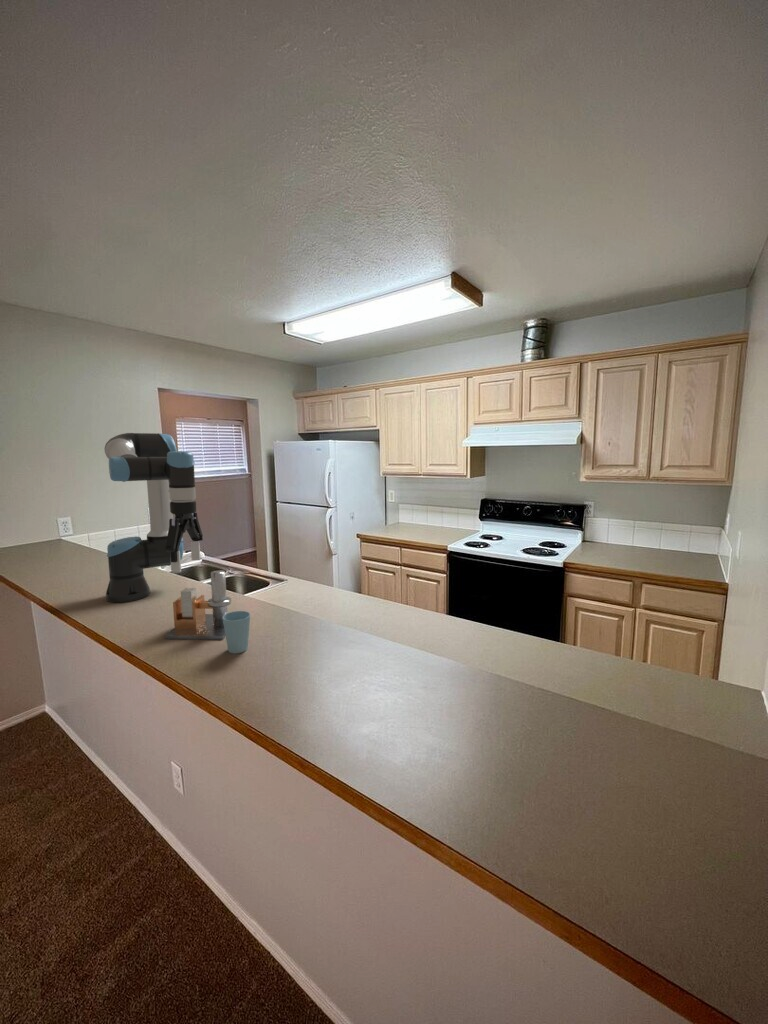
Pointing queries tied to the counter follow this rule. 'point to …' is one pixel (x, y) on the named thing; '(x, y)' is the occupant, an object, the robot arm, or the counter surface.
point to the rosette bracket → (203, 613)
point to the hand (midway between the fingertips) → (186, 565)
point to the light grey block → (188, 602)
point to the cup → (237, 630)
